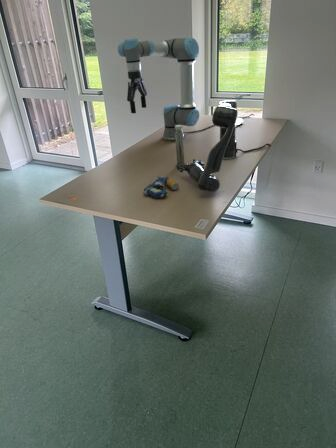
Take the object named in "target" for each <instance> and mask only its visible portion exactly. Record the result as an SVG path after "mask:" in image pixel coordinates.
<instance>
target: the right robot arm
mask: <svg viewBox="0 0 336 448" xmlns="http://www.w3.org/2000/svg"><path fill="white" fill-rule="evenodd" d="M237 106H238V105H237V102H236V100H220V101H219V102H218V104H217V106H215V109H214V110H213V113H212V116H211V117H212V118H211V122H212V125H215V127H219V141H218V142H217V143H215V145H214V146H213V147H212V148H211V149H210V151H209V153H208V156H207V159H206V163H205V162H204V161H202V160H201V159H200V160H197V159H195V158H193V159H192V162H191V163H185V162H184V164H182V163H181V162H179V163H178V165H177V164H176V169H177V171H178V172H180V173H184V171H185V172H187V174H188V175H189V177H191V178H192V180H194V181H195V182H196V183H197V188H198V189H199V190H200V191H203V192H204V191H205V192H211V193H215V192H217V191H218V190H219V189H220V187H221V183H220V180H219V179H218V178H217V177H216V176H215V175H213V174H217V173H219V172H220V171H221V168H222V163H223V160H232V159H234V158H237V154H238V152H239V151H240V152H241V153H248V152H249V153H250V152H253V151H257V150H260V149H263V148H264V147H266V146H269V147H270V146H271V144H270V143H265V144H263V145H262V146H259V147H256V148H252V149H247V150H243V149H241V148H238V147H237V146H238V143H237V141H236V132H237V131H236V130H237V129H236V127H237V126H236V120H237V118H238V114H239V113H238V107H237ZM182 166H183V167H182Z"/></svg>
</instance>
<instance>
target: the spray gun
mask: <svg viewBox="0 0 336 448" xmlns="http://www.w3.org/2000/svg"><path fill="white" fill-rule="evenodd" d="M166 186H167V187H168V188H170V189H171V190H172V191H176V190H178V188H179V186H180V184H179V182H177V181H175V179H172V178H168V176H167V175H164V176H163V175H162V176H160V175H157V176H156V178H155V179H154V180H153V181H152V182H150V184H148V185H147V186H145V188H144V189H143V195H146V196H151V197H153V198H155V199H160V198H165V197H166V196H167V194H168V190H166V188H165V187H166Z"/></svg>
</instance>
